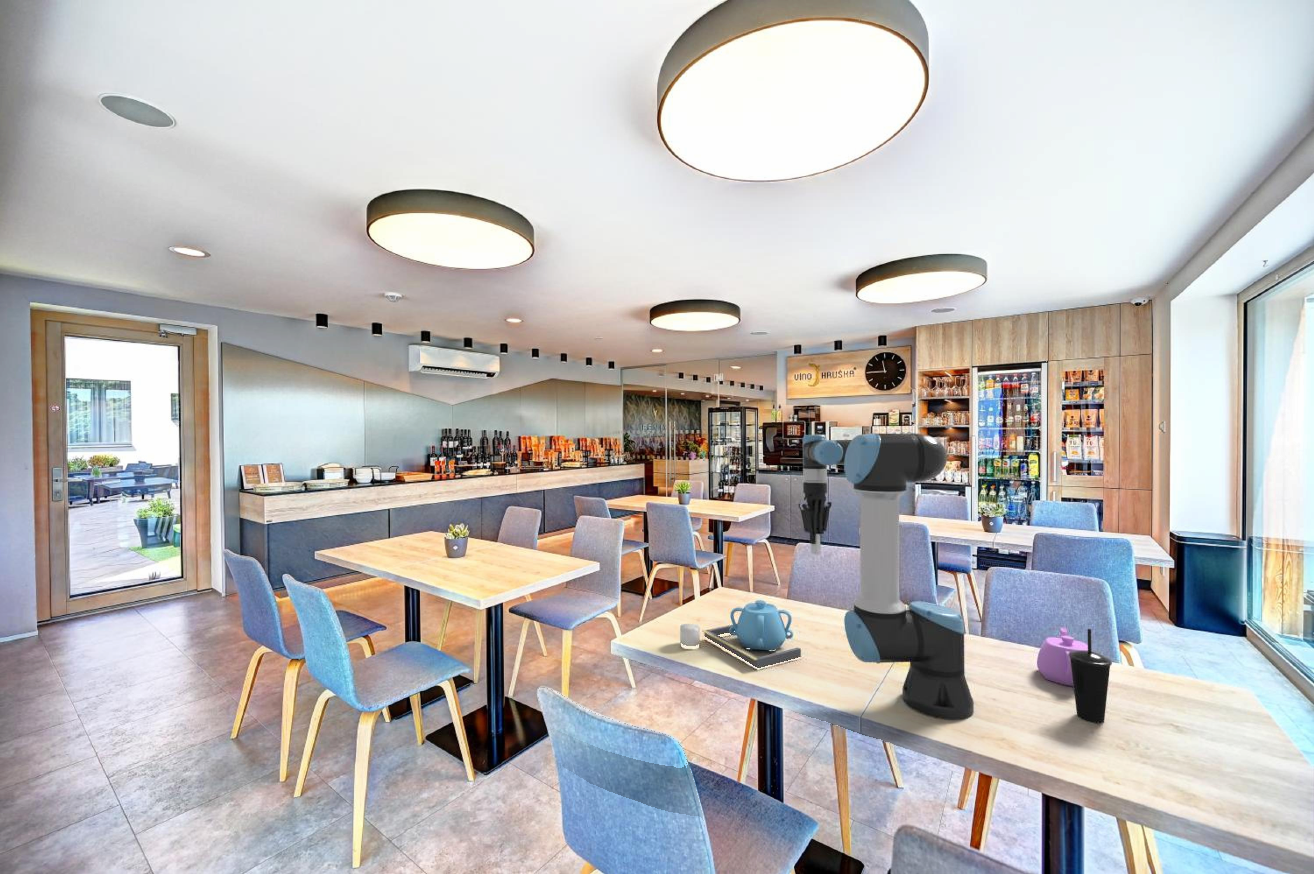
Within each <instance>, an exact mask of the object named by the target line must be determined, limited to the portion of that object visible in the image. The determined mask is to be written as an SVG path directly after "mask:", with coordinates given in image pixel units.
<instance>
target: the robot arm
mask: <svg viewBox="0 0 1314 874" xmlns="http://www.w3.org/2000/svg"><path fill="white" fill-rule="evenodd" d="M947 460H948V455H947V450H946V448H945V446H944V445H943V444H942V442H941V441H939V439H936V438H935V437H933V436H931V435H928V434H923V433H875V432H873V433H863V434H858V435H856V436H854V437H853V438H852V439H851V440H832V439H829V440H828V439H827V436H826V435H825V434H805V435H803V437H802V468H803V469H802V473H803V475H802V476H803V478H802V479H803V483H802V484H803V485H802V487H803V488H802V491H803V492H802V493H803V494H804V498H803V502H802V503H798V508H799V511H800V515H801V519H802V525H803V530H804V532H806V533H808V534H809V543H810V553H811V554H813V555H821V544H822V535H824V534H825V532H826V531H827V529H828V523H829V522H828V520H829V517H830V509H831V507H832V505H833V502H832V501H828V500H827V497H826V494H827V493H828V483H827V480H828V469H827V468H828V466H834V465H835V466H839V465H841V466H842V465H843V468H844V473H845V474H844V475H845V478H846V480H847V481H848V482H849V483H851V484H853V490H854V492H856V494H858V496H859V498H860V504H859V505H860V506H859V508H860V509H859V510H860V511H859V512H860V513H859V515H860V518H859V519H860V522H859V523H860V524H859V525H860V527H859V529H860V530H859V531H860V532H859V535H860V536H859V537H860V545H859V546H860V547H859V550H860V554H859V555H860V556H859V557H860V558H859V559H860V561H859V562H860V565H859V566H860V569H859V570H860V574H859V575H860V576H859V578H860V586H859V587H860V593H859V596H858V597H857V598H855V599H854V600H853V609H850V610H849V611H846V612H845V613H844V620H843V622H844V632H845V635H846V638H847V642H848V644H849V645H848V646H849V648H850V649H851V651H852V653H853V654H854V656H855V657H856V658H857V659H858V660H859V661H861V662H862V663H873V664H874V663H875V664H882V663H883V664H884V663H909V669H908V671H907V675H906V677H905V680H904V682H903V685H902V689H901V690H902V692H901V694H902V698H901V699H902V700H903V702H904V703H905V705H907V706H908V707H910V708H911V709H912V710H914V711H916V712H919V713H920V714H923V715H926V716H930V717H933V718H936V719H937V718H938V719H944V720H962V719H967V718H969V717H971V716H973V714H974V712H975V711H974V710H975V707H974V706H975V705H974V704H975V703H974V699H973V697H972V694H971V691H970V690H971V689H970V688H969V684H968V682H967V679H966V676H965V675H966V671H965V634H966V631H965V623H964V622H965V621H964V618H963V616H962V615H961V614H960V613H959V612H958V611H956V610H954V609H952V608H950V607H947V606H945V605H941V604H937V603H932V602H926V601H919V600H918V601H915V600H914V601H911V602H910V603H909V605H908V609H907V606H906V605H905V603H903V602H902V600H901V599H900V498H901V497H902V496H903V495H904V494H905V493H907V483H920V482H921V483H922V482H926V481H930V480H932V479H934V478H935V477H938V476H939V475H940V474H941V473H942V472H943V471H944V469H945V467H946V465H947V462H948V461H947Z"/></svg>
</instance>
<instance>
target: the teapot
mask: <svg viewBox="0 0 1314 874" xmlns="http://www.w3.org/2000/svg"><path fill="white" fill-rule="evenodd" d="M1079 650H1087V651H1088V643H1085V642H1083V641H1079V640H1075V638H1074V637H1072V636H1068V630H1067V628H1066V627H1063V626H1062V627H1061V628H1060V635H1059V637H1055V636H1054V637H1047V638H1046V639H1045V640H1044V641H1043V643H1042V645H1041V646H1040V648H1039V651H1038V653H1037V654H1038V655H1037V658H1036V666H1037V669H1038V671H1039V672H1040V674H1041V675H1042V677H1043V678H1045V680H1048V681H1050V682H1054V683H1057V684H1060V685H1065V686H1069V687H1074V686H1073V677H1072V669H1071V660H1070V657H1069V652H1072V651H1079Z"/></svg>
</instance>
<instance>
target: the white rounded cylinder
mask: <svg viewBox="0 0 1314 874" xmlns="http://www.w3.org/2000/svg"><path fill="white" fill-rule="evenodd" d="M700 629H701V628H700V625H698V624H695V623H684V624H681V625H680V627H679V641H680V642H679V644H680V643H682V644H683V645H686V646H696V645H698V644H699V643H700V644H701V641H700V640H701V639H700V637H701V635H700V634H701V632H700V631H701V630H700Z"/></svg>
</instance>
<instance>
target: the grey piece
mask: <svg viewBox="0 0 1314 874" xmlns="http://www.w3.org/2000/svg"><path fill="white" fill-rule="evenodd" d="M736 625H737V623H736ZM732 626H733V624H731V625H730V624H729V625H725V626H720V627H716V628H711V629H710V628H709V629H706V630H705V629H702V630H701V631H702V632H703V635H704V636H705V637H707V638H708V639H710V640H712V641H713V642H715V643H717V644H719V645H720V646H722V647H724V648H725V649H727V650H729V651H731V652H732V653H734V654H736V655H737V656H739V657H741V658H742V659H744V660H745V661H747V662H749V663H750V664H752V665H753V666H755V667H757V668H761V667H765V666H768V665H773V664H776V663H780V662H784V661H788V660H791V659H795V658H798V657H801V658H802V653H801V652H802V650H801V648H800V647H794V648H790V649H785V650H782V651H779V652H774V653H771V654H766V655H763V656H756V655H754V654H753V653H751V652H749V650H748V651H747V649H743V648H742V647H740V646H739V645H736V644H735V643H732V642H731V641H729V640H727V639H726V638H722V637H720V636H718V635H720V634H724V633H730V632H729V629H730V627H732ZM732 631H733V632H734V631H735V629H732ZM704 636H703V637H704Z"/></svg>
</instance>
